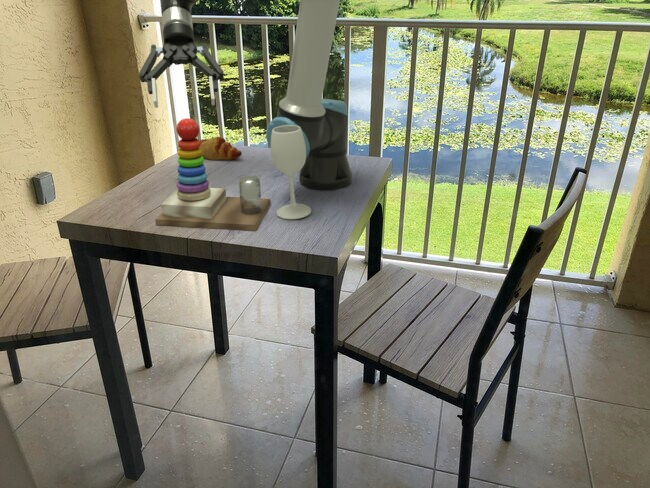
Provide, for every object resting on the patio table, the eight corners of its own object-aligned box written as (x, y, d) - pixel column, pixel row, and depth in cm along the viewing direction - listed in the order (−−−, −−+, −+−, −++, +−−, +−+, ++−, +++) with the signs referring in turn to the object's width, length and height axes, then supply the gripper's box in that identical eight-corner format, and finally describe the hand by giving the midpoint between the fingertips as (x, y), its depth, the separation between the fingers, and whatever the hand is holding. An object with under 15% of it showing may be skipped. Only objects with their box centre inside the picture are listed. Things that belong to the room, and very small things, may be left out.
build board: (270, 204, 132) (269, 187, 130) (255, 230, 118) (254, 213, 116) (181, 199, 134) (179, 183, 132) (156, 225, 120) (153, 207, 118)
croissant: (186, 163, 172) (175, 146, 166) (201, 143, 177) (192, 125, 171) (238, 172, 163) (228, 153, 157) (252, 150, 168) (244, 132, 162)
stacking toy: (202, 203, 120) (193, 124, 112) (171, 200, 122) (160, 122, 113) (216, 191, 127) (208, 116, 119) (186, 189, 129) (176, 114, 120)
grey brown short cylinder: (263, 207, 126) (261, 176, 123) (258, 215, 122) (257, 183, 118) (243, 206, 127) (241, 175, 123) (238, 214, 123) (235, 182, 119)
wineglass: (288, 203, 132) (281, 122, 122) (317, 208, 128) (312, 125, 118) (269, 216, 125) (259, 132, 116) (299, 222, 122) (292, 135, 112)
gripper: (227, 40, 137) (236, 109, 131) (129, 42, 132) (133, 114, 125) (227, 20, 130) (236, 92, 124) (123, 21, 125) (127, 96, 118)
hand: (184, 103), depth 125 cm, fingers open, 13 cm apart
